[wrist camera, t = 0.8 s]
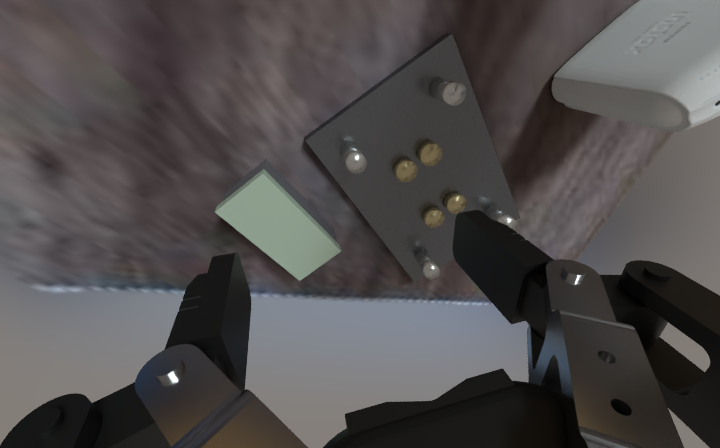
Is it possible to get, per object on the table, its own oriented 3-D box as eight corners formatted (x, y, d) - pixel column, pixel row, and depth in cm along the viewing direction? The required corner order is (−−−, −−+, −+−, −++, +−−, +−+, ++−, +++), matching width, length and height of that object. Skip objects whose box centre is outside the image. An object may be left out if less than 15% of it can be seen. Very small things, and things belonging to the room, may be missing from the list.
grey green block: (265, 156, 27) (263, 173, 23) (335, 228, 32) (341, 251, 29) (222, 190, 28) (214, 212, 24) (297, 255, 33) (299, 280, 30)
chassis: (446, 33, 25) (472, 33, 21) (514, 213, 36) (538, 231, 33) (304, 137, 26) (307, 152, 23) (411, 277, 38) (424, 300, 34)
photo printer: (648, -15, 26) (888, -46, 16) (656, 30, 28) (871, 30, 18) (542, 76, 28) (692, 102, 18) (557, 112, 30) (698, 153, 20)
